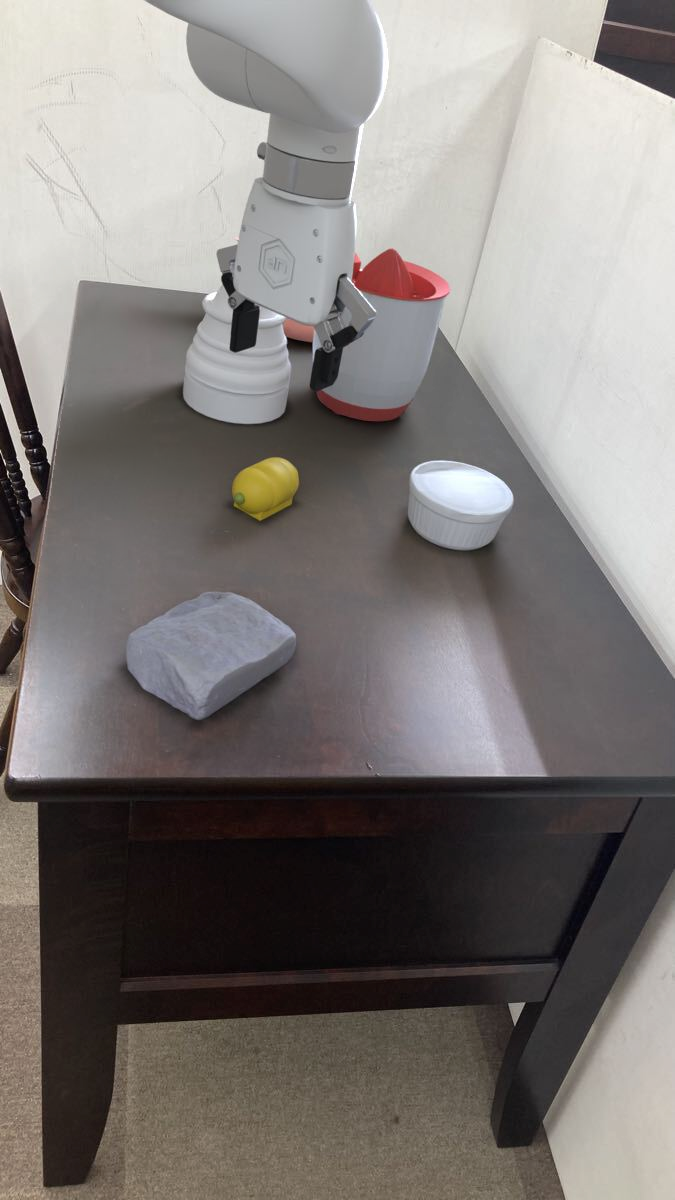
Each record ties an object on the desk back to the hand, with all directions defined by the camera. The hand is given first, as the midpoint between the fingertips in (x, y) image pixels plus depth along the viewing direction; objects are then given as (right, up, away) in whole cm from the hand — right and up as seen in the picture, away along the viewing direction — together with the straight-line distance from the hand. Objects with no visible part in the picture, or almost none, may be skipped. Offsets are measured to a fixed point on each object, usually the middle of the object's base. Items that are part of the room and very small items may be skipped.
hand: (281, 367), depth 84 cm
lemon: (-3, -12, +9) cm, 15 cm away
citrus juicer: (+8, +4, +34) cm, 35 cm away
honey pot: (-8, +3, +27) cm, 29 cm away
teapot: (-1, +19, +51) cm, 54 cm away
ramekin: (+17, -14, +12) cm, 26 cm away
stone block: (-5, -27, -12) cm, 30 cm away
